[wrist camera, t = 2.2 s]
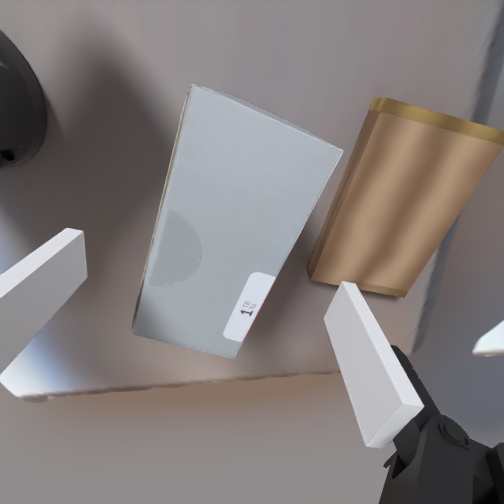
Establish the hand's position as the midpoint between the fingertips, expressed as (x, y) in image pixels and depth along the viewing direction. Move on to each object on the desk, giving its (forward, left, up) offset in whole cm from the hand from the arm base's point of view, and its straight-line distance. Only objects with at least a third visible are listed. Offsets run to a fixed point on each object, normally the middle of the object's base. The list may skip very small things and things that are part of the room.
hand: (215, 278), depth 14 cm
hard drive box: (0, 0, -21) cm, 21 cm away
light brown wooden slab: (+20, 0, -21) cm, 29 cm away
